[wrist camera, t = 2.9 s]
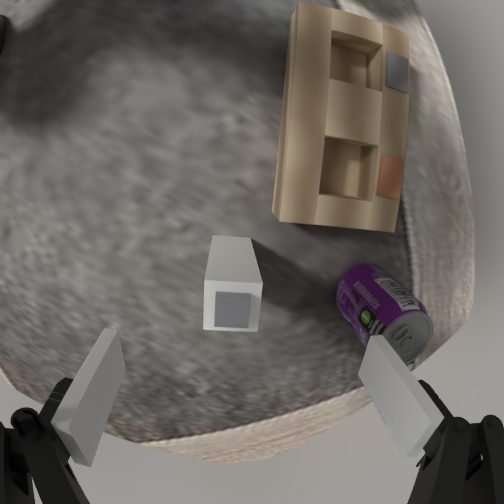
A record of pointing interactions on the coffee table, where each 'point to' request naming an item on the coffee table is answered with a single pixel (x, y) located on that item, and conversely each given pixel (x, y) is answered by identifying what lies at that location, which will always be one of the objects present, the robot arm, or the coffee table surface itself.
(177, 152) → the coffee table surface
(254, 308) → the plug
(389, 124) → the socket block
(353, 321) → the beverage can
